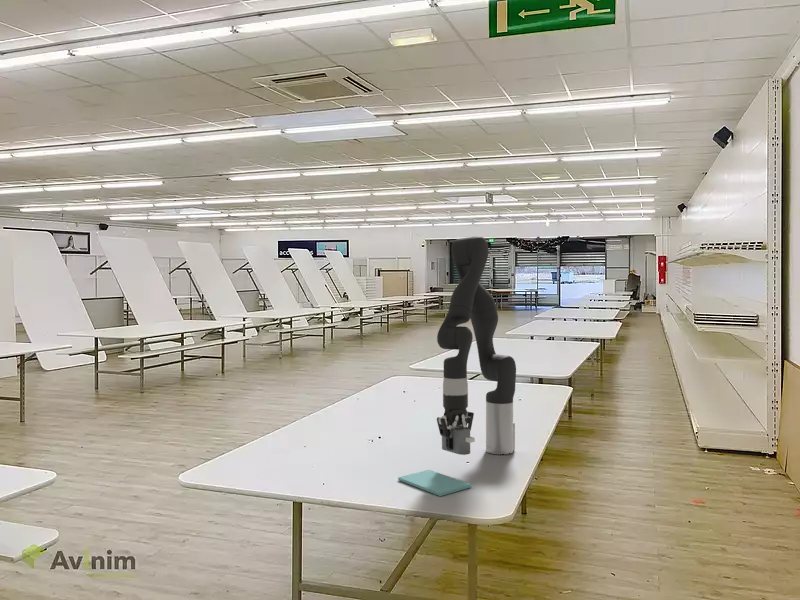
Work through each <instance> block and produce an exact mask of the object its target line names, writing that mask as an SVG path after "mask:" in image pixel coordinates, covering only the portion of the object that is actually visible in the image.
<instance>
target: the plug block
mask: <svg viewBox="0 0 800 600" xmlns="http://www.w3.org/2000/svg"><path fill="white" fill-rule="evenodd" d="M449 426H450V425H449ZM450 427H452V426H450ZM449 433H450V429H449ZM452 438H453V450H448V449H447V448H446V437H445V436H441V450H442V451H446V452H450V453H453V454H456V455H461V456H467V455H470V454H471V443H474V442H475V441H476V440H475V437H474V436H471V431H470V429H468V428H462V427H458V426H456V429H455V430H454V431H453V437H452Z"/></svg>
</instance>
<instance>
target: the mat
mask: <svg viewBox="0 0 800 600" xmlns="http://www.w3.org/2000/svg"><path fill="white" fill-rule="evenodd" d="M397 480H398V481H399V482H402V483H405V484H407V485H410V486H412V487H416V488H417V489H421V490H423V491H426V492H428V493H431V494H433V495H435V496H439V497H441V496H442V497H443V496H446V495H448V494H449V495H450V494H453V493H455V492H460V491H462V490H467V489H470V488H472V483H469V482H466V481H463V480H460V479H457V478H455V477H451V476H449V475H447V474H443V473H440V472H437V471H434V470H432V469H426V470H423V471H418V472H416V473H414V472H413V473H411V474H410V473H409V474H406V475H402V476H398V478H397Z"/></svg>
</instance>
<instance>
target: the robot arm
mask: <svg viewBox="0 0 800 600" xmlns="http://www.w3.org/2000/svg"><path fill="white" fill-rule="evenodd" d="M451 255H452V256H451V257H452V260H453V263H454V266H455V268H456V271H457V274H458V278H459V280H460V282H459V283H458V284H457V286H455V288H454V290H453V292H452V294H451V297H450V300H449V301H450V302H449V306H448V311H447V314H446V316H445V318H444V320H443V321H442V323H441V325H440V327H439V329H438V331H437V336H436V341H437V344H438V347H440V349H444V350H452V351H453V350H457V351H458V352H457V354H456V355H455V356H451V357H446V358H445V359H444V360H443V381H442V407H443V408H444V413H443V415H442V416H441V417H439V416H438V417H437V418H436V422H437V427H438V430H439V431H438V432H439V435H440V436H441V437H442V436H445V437H446V448H447V449H448V450H453V438H452V437H453V431H454V430H455V429H456V426H458V427H462V428H468V429H470V432H471V430H472V426H473V421H474V415H475V413H474V412H471V411H469V410H468V407H469V397H468V396H469V392H468V391H469V387H468V386H469V385H468V376H467V375H468V367H467V366H468V358H469V354H470V352H471V347H472V343H473V335H474V338H475V342H476V346H477V347H476V348H477V354H478V359H479V360H478V363H479V367H480V371H481V374H482V376H483V377H484V379H486V380H488V381H491V382H492V381H493V382H497V384H496V388H495V389H494V390H491V391H488V392H487V393H486V394H485V451H486V452H487V453H488V454H491V455H500V454H501V455H502V454H504V455H509V453H510V454H512V453H514V451H513V450H515V451H516V423H515V422H514V397H515V396H514V395H515V393H516V383H517V382H516V380H517V365H516V361H515V359H514V358H513V356H511V355H506V354H505V355H504V354H497V353H496V350H495V347H494V335H495V332H496V328H497V326H498V322H499V314H498V310H497V306H496V301H495V298H494V297H493V295H492V294H491V293H490V291H489V290H487V289H486V287H484V285H482V283H481V282H480V281H481V279H482V275H483V272H484V270H485V267H486V265H487V261H488V257H489V244H488V242H487V239H486V238H485V237H483V236H481V235H478V236H477V235H476V236H469V237H468V236H467V237H463V238H456V239H455V240H453V242H452V244H451ZM469 321H471V325H472V329H473V333H472V331H471V328H469V327H467V326H459V325H463V324H466V323H468V322H469ZM449 425H450V426H452V427H450V426H449ZM449 429H450V433H449ZM502 456H503V455H502Z"/></svg>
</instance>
